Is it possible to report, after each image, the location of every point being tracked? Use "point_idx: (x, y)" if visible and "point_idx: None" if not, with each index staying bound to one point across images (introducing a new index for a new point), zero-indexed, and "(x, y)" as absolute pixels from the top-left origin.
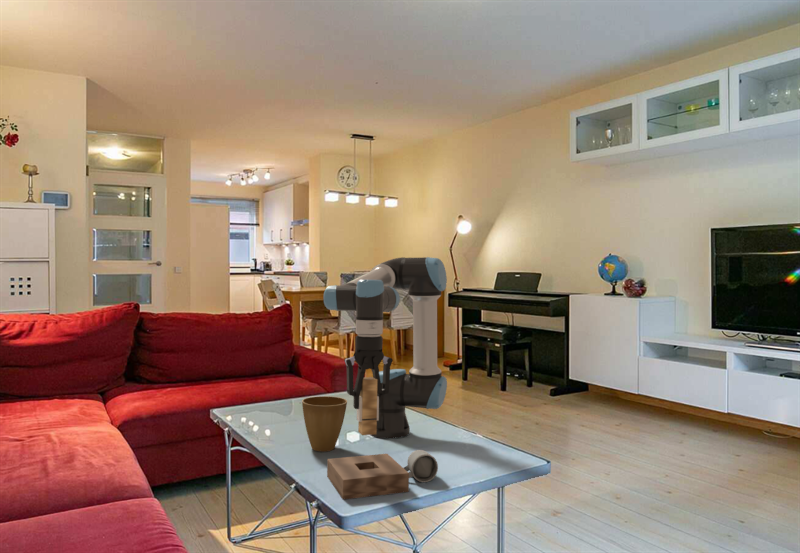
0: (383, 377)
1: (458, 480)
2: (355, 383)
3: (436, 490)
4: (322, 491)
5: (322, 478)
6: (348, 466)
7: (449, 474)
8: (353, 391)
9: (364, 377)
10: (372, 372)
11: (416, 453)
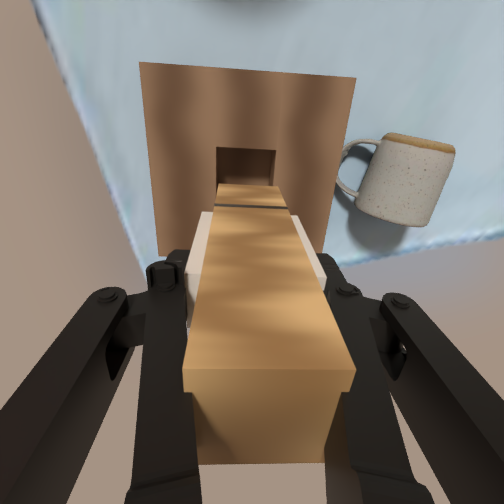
0: (441, 407)
1: (446, 216)
2: (143, 347)
3: (365, 251)
4: (129, 177)
5: (138, 77)
6: (192, 166)
7: (461, 174)
8: (133, 345)
9: (247, 370)
10: (347, 459)
11: (404, 185)
